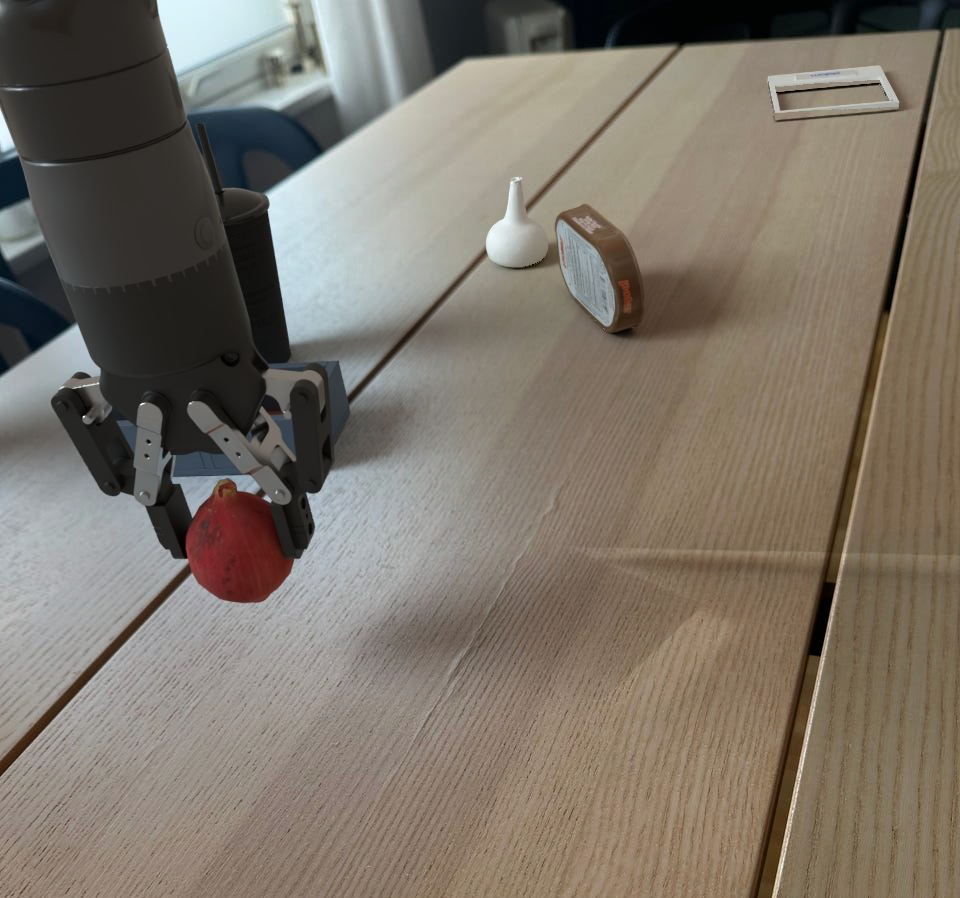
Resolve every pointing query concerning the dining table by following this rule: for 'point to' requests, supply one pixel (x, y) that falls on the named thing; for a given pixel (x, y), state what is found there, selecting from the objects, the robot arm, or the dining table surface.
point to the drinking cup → (252, 260)
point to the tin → (600, 268)
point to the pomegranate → (236, 546)
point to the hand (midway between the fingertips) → (241, 549)
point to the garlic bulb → (516, 234)
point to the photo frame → (834, 76)
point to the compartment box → (221, 463)
